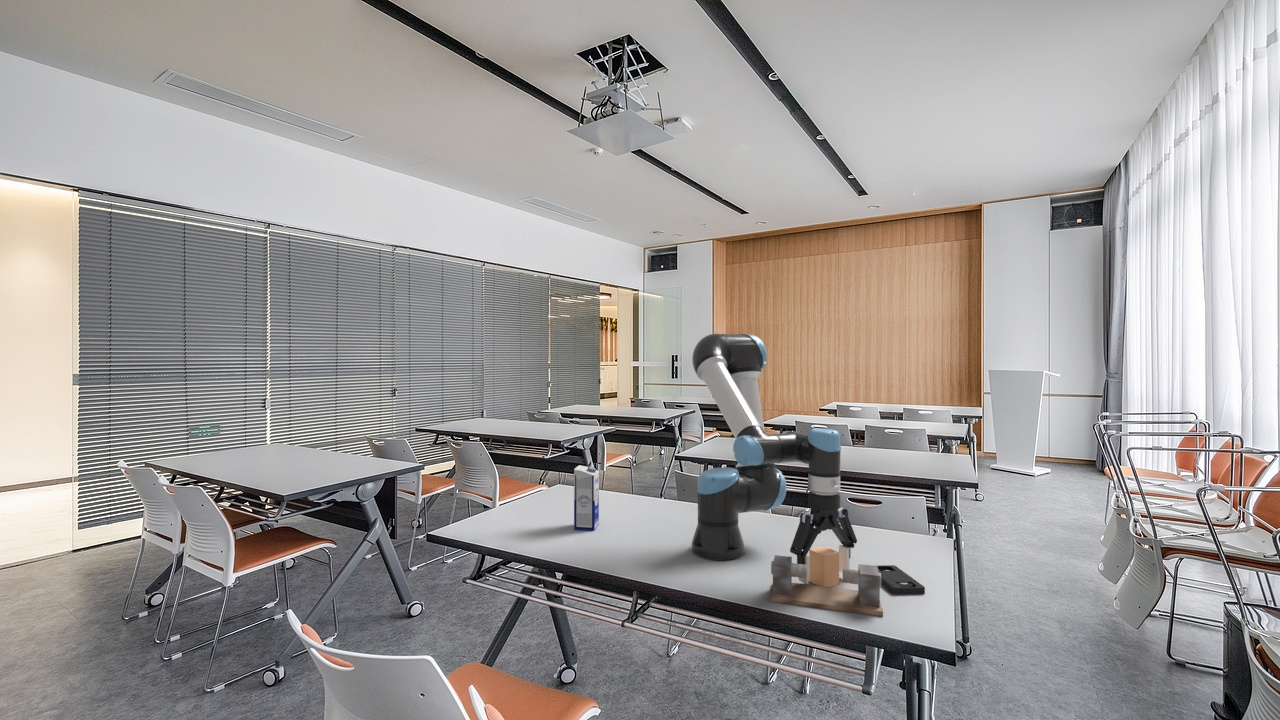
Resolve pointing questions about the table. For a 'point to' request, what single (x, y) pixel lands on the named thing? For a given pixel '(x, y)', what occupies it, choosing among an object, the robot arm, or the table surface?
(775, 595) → the shaft bench
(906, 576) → the vhs tape
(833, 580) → the coupler block
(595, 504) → the milk carton
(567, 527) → the table surface
